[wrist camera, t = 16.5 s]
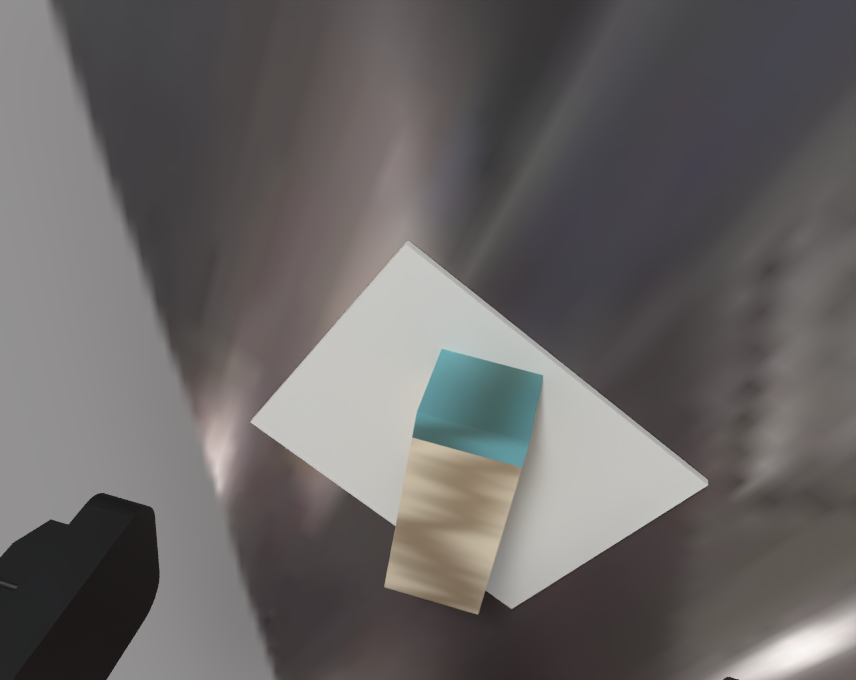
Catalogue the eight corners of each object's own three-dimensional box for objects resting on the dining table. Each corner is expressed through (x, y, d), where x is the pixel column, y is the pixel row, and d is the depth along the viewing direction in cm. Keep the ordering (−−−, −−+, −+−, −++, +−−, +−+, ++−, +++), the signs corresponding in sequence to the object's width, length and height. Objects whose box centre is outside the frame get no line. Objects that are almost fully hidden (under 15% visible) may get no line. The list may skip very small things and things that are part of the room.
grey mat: (707, 479, 40) (708, 485, 40) (512, 603, 48) (511, 609, 48) (407, 240, 37) (405, 243, 36) (253, 417, 45) (250, 422, 45)
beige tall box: (384, 587, 42) (416, 411, 35) (408, 517, 46) (441, 348, 39) (478, 614, 41) (529, 442, 34) (494, 542, 45) (543, 375, 39)
